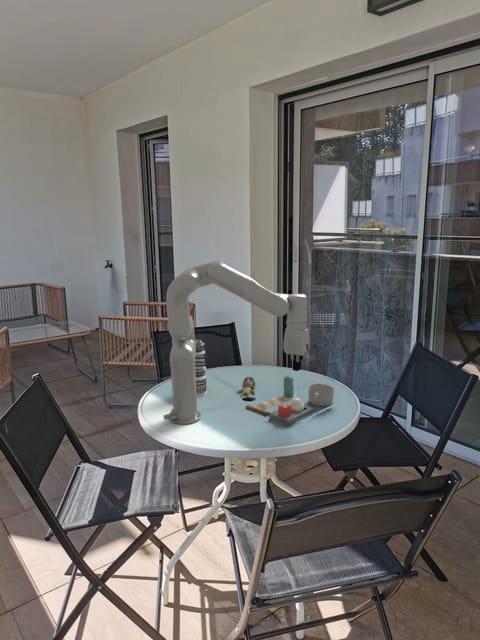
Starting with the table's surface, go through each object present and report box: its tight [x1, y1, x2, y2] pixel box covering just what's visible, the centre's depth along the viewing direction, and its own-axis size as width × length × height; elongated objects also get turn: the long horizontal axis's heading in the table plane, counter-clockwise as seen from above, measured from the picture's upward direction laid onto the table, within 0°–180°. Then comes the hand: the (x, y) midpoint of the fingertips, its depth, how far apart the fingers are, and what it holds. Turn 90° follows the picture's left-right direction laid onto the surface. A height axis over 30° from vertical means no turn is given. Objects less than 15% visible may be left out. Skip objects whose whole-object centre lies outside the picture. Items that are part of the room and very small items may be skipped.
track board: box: [245, 393, 298, 416], centre depth 207 cm, size 25×12×1 cm, turn 136°
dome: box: [288, 397, 305, 413], centre depth 195 cm, size 6×6×5 cm
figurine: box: [237, 376, 257, 399], centre depth 219 cm, size 8×6×15 cm
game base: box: [268, 403, 315, 427], centre depth 193 cm, size 16×10×6 cm, turn 136°
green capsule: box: [283, 375, 295, 398], centre depth 213 cm, size 4×4×9 cm
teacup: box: [308, 383, 335, 407], centre depth 203 cm, size 14×11×8 cm
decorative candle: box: [195, 339, 208, 397], centre depth 219 cm, size 9×9×25 cm
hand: (296, 369), depth 191 cm, fingers closed
